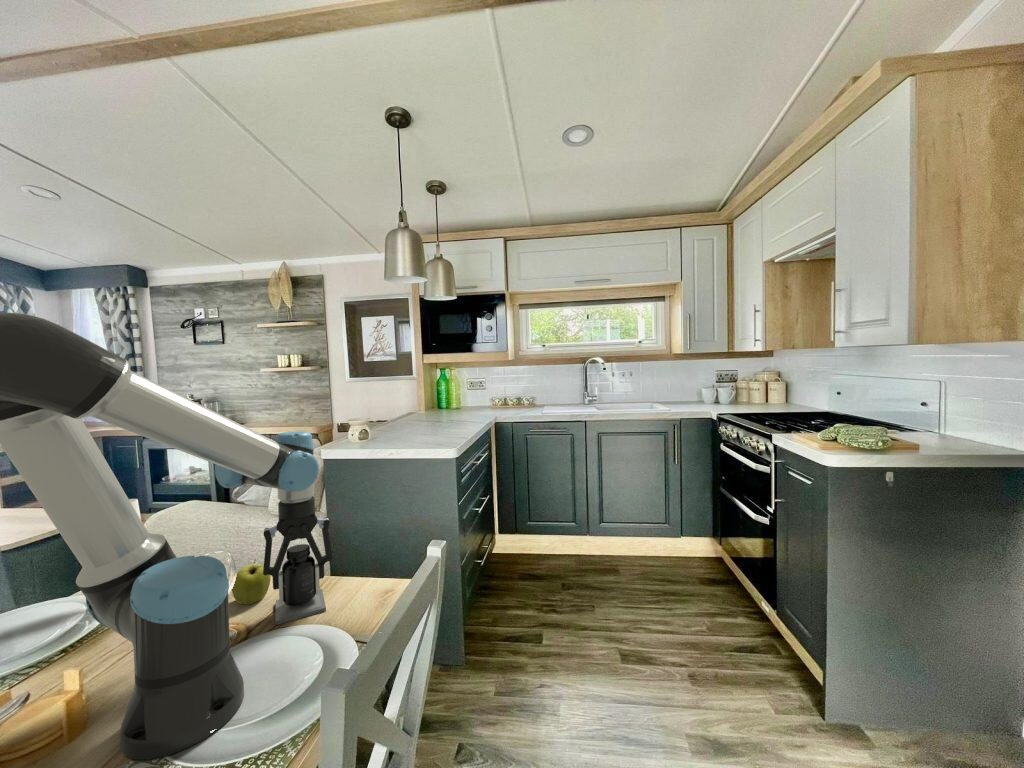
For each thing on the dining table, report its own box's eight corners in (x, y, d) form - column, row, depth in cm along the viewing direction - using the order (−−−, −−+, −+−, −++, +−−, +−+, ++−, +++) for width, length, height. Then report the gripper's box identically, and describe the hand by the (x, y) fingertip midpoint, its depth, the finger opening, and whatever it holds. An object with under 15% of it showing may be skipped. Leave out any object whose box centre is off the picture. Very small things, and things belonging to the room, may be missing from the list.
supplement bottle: (275, 604, 93) (274, 552, 93) (299, 590, 100) (298, 540, 100) (300, 609, 91) (298, 555, 91) (322, 593, 98) (321, 543, 98)
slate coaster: (326, 610, 94) (325, 607, 94) (275, 624, 89) (275, 620, 89) (321, 591, 102) (321, 588, 102) (275, 603, 97) (275, 599, 97)
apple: (233, 591, 102) (245, 551, 102) (268, 596, 104) (280, 557, 104) (219, 608, 94) (233, 565, 95) (257, 613, 96) (270, 571, 97)
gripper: (340, 488, 104) (343, 579, 104) (247, 501, 94) (250, 602, 94) (344, 495, 97) (347, 592, 97) (245, 510, 87) (248, 618, 87)
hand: (299, 596), depth 96 cm, fingers closed on supplement bottle, 7 cm apart
